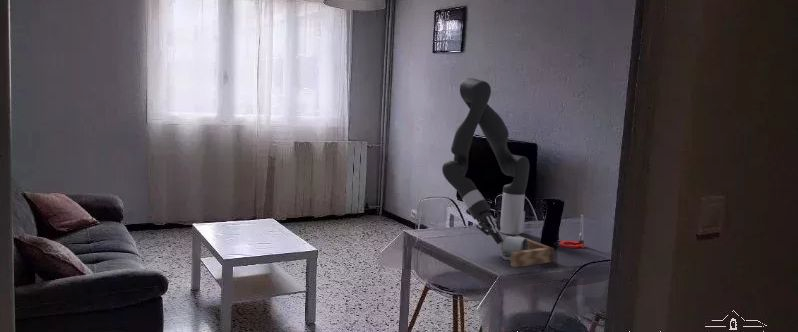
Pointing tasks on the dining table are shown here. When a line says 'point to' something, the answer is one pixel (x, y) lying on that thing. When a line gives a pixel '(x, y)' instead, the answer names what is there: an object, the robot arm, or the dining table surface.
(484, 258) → the dining table surface
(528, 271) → the dining table surface
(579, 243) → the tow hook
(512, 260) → the corner walls
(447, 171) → the robot arm
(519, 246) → the ceramic mug
